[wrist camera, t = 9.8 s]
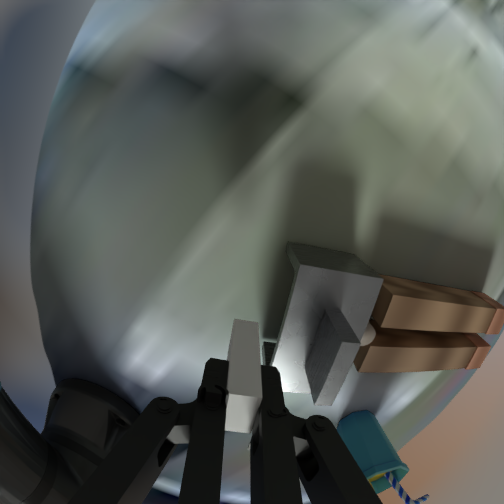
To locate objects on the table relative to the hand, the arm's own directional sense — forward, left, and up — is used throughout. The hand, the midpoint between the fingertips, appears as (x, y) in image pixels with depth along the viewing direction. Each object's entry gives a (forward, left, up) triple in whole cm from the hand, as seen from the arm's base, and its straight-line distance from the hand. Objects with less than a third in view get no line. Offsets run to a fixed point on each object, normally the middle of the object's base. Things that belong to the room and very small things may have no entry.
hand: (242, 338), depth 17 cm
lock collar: (+6, 0, -7) cm, 9 cm away
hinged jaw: (+20, +2, -7) cm, 21 cm away
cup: (+19, -17, -8) cm, 26 cm away
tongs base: (+17, -1, -8) cm, 18 cm away
